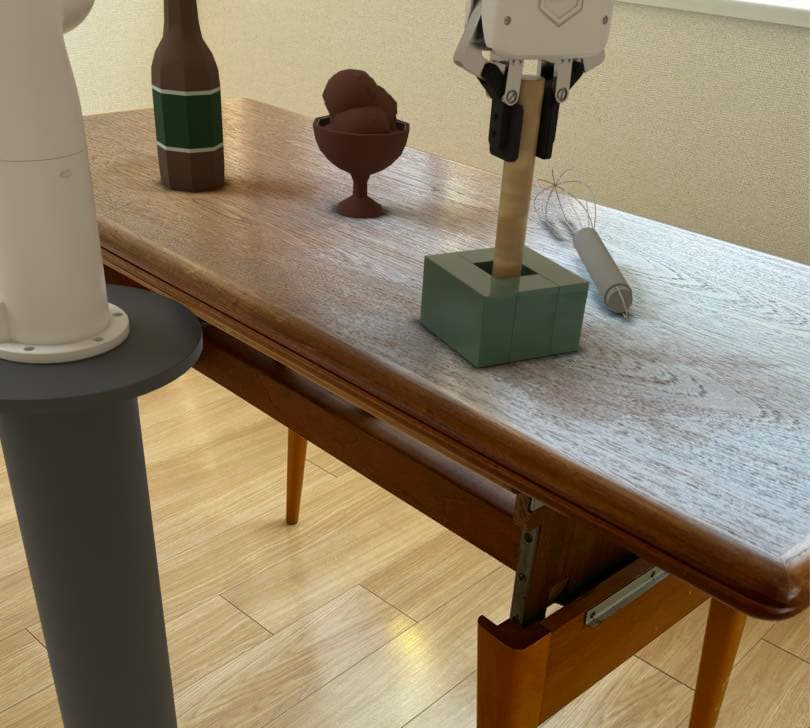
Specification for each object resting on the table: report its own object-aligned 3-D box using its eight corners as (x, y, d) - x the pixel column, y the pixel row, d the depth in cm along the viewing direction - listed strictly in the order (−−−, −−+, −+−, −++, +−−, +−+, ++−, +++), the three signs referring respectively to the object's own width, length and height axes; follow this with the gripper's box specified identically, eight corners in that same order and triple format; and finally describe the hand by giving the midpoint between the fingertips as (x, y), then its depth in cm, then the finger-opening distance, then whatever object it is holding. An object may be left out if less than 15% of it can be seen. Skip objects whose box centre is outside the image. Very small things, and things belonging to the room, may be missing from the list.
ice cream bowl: (389, 230, 104) (396, 81, 95) (297, 215, 106) (295, 69, 98) (418, 205, 112) (427, 67, 103) (332, 192, 115) (333, 56, 106)
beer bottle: (193, 171, 119) (177, -52, 105) (238, 184, 116) (228, -45, 102) (146, 183, 114) (123, -50, 100) (192, 196, 110) (175, -43, 96)
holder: (477, 368, 76) (485, 296, 72) (419, 322, 83) (424, 255, 79) (578, 350, 80) (590, 281, 76) (514, 308, 87) (523, 243, 83)
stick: (495, 338, 80) (524, 80, 68) (480, 328, 81) (506, 74, 70) (518, 335, 81) (551, 79, 69) (504, 324, 82) (533, 74, 71)
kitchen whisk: (591, 323, 85) (604, 254, 81) (524, 214, 112) (531, 159, 109) (657, 325, 85) (672, 256, 82) (574, 216, 113) (583, 161, 109)
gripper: (478, -142, 56) (453, 176, 67) (684, -127, 63) (632, 162, 73) (420, -144, 62) (405, 151, 72) (615, -130, 68) (575, 139, 79)
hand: (520, 154), depth 73 cm, fingers closed on stick, 2 cm apart
